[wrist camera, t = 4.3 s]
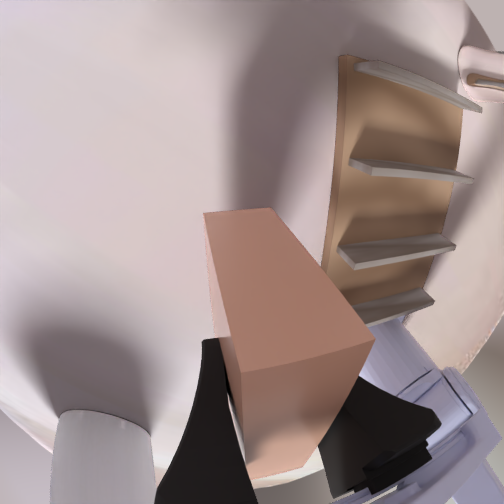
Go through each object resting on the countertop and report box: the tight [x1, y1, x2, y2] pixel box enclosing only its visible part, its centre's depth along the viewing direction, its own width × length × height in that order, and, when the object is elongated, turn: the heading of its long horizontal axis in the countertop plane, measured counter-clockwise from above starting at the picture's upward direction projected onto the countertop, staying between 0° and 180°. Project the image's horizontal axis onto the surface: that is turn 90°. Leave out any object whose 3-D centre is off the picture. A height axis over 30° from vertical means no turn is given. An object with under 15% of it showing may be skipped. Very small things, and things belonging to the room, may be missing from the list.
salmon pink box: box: [203, 207, 376, 480], centre depth 10 cm, size 10×3×8 cm, turn 178°
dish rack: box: [321, 55, 482, 327], centre depth 18 cm, size 20×13×4 cm, turn 178°
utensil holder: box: [50, 410, 157, 504], centre depth 20 cm, size 15×15×18 cm
